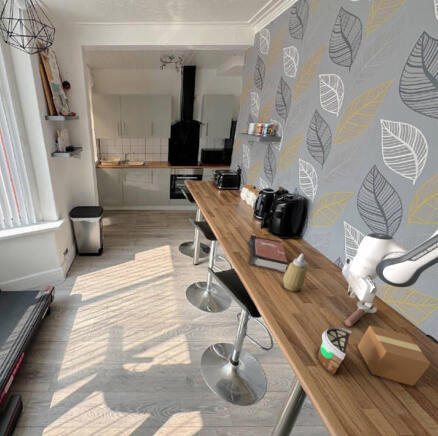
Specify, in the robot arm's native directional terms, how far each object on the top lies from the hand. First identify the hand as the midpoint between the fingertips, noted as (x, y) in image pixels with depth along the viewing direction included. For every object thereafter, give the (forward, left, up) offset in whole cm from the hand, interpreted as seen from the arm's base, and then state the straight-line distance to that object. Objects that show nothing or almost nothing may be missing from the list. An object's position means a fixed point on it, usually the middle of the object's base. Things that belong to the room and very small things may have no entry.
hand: (350, 295), depth 102 cm
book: (+31, -23, -2) cm, 39 cm away
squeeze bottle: (+23, +2, -2) cm, 23 cm away
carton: (+2, +33, -2) cm, 33 cm away
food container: (+19, +37, -2) cm, 41 cm away
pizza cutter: (0, +11, -2) cm, 11 cm away
